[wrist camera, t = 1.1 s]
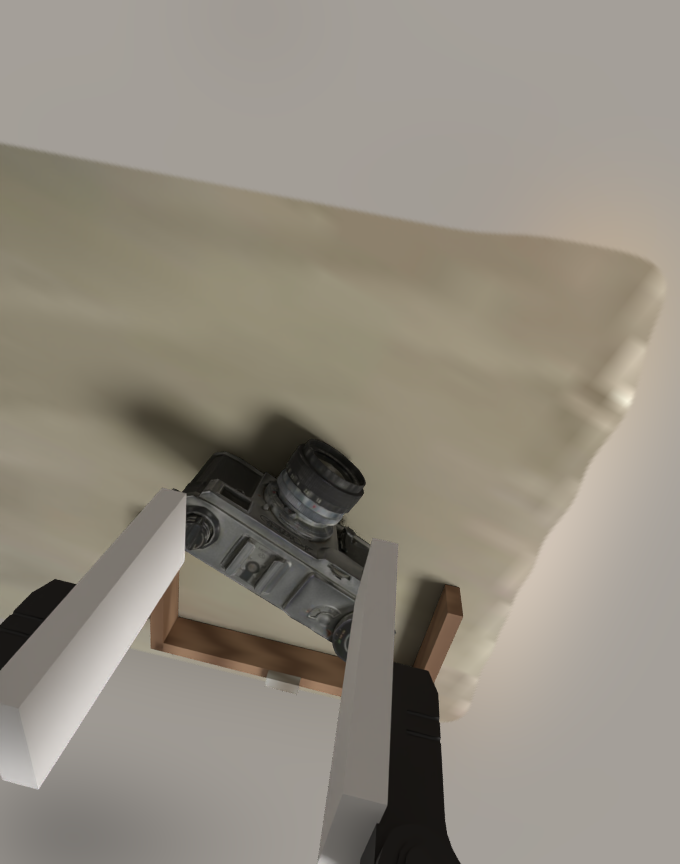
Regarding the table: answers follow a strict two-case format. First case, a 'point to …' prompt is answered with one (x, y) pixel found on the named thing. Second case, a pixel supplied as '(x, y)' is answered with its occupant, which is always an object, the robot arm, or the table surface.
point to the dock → (285, 646)
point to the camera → (284, 534)
